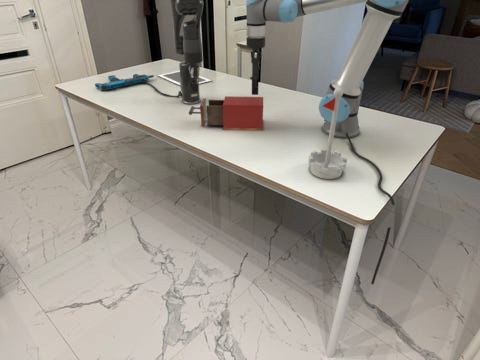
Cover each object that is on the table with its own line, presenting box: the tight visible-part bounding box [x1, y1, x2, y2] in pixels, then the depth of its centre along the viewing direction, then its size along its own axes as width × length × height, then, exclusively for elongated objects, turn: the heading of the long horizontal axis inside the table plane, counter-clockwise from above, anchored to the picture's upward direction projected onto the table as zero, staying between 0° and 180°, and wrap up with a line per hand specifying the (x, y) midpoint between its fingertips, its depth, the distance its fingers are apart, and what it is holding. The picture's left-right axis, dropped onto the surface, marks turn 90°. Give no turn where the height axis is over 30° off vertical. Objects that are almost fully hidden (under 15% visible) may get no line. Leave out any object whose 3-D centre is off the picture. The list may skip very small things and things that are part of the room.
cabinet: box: [223, 95, 264, 131], centre depth 152 cm, size 17×11×11 cm, turn 87°
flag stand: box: [307, 88, 348, 180], centre depth 113 cm, size 13×13×30 cm
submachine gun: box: [94, 73, 155, 91], centre depth 208 cm, size 34×4×25 cm
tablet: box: [157, 70, 213, 87], centre depth 215 cm, size 32×20×1 cm, turn 41°
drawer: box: [188, 98, 224, 127], centre depth 153 cm, size 22×10×10 cm, turn 87°
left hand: (196, 91), depth 148 cm, fingers closed
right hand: (255, 89), depth 146 cm, fingers open, 13 cm apart
